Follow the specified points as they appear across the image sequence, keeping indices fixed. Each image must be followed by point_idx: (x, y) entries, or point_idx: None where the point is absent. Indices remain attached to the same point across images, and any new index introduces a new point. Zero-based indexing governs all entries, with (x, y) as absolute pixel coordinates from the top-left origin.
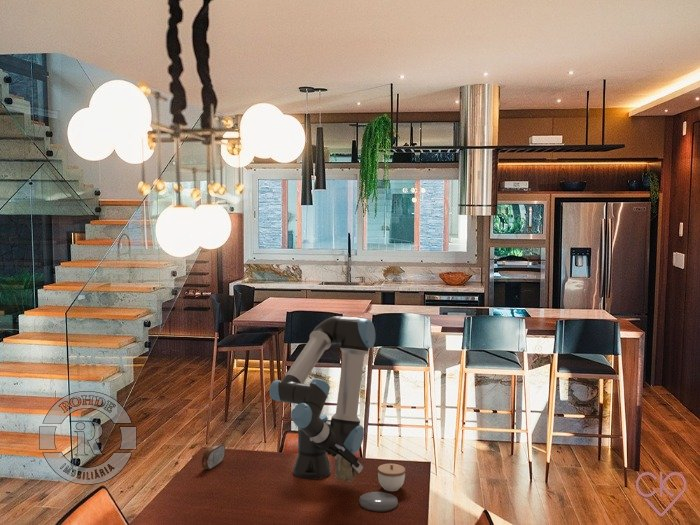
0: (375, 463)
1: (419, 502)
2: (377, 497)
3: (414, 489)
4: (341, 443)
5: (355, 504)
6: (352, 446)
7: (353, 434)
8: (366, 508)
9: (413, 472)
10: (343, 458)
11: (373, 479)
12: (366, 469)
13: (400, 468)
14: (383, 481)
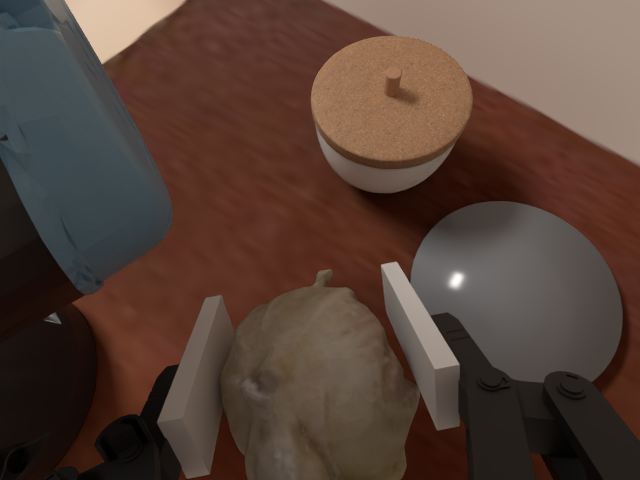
0: (135, 88)
1: (563, 139)
2: (485, 279)
3: None
4: (35, 288)
5: None
6: (163, 204)
7: (59, 95)
8: None
9: (293, 23)
10: (325, 447)
11: (261, 174)
12: (158, 145)
13: (416, 57)
14: (411, 183)
